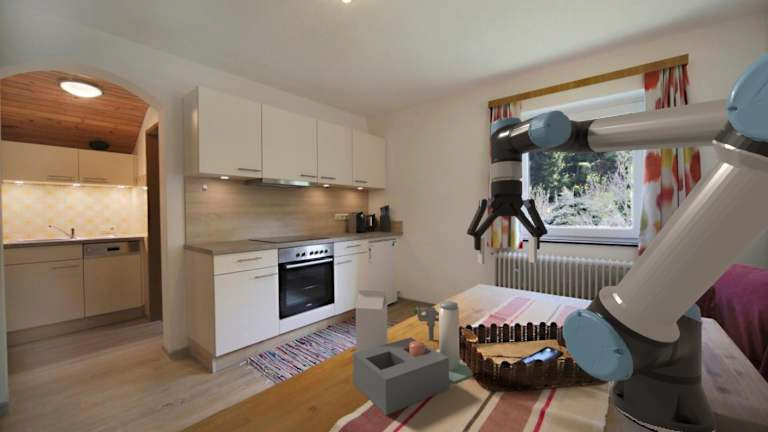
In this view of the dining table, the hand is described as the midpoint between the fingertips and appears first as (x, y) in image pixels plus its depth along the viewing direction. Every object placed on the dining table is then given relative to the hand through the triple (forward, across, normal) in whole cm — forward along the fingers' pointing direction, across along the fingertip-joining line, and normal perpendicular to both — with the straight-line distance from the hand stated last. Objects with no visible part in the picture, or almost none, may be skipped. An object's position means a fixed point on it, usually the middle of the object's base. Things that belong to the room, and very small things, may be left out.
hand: (507, 262), depth 79 cm
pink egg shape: (+26, +24, +5) cm, 36 cm away
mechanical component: (+27, +16, -18) cm, 36 cm away
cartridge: (+26, +15, 0) cm, 30 cm away
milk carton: (+27, +35, -6) cm, 44 cm away
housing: (+27, +29, +7) cm, 40 cm away
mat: (+27, +15, 0) cm, 31 cm away
